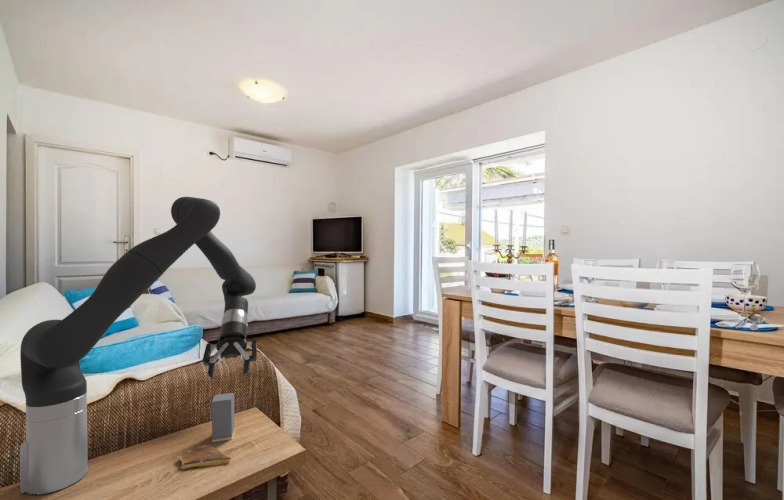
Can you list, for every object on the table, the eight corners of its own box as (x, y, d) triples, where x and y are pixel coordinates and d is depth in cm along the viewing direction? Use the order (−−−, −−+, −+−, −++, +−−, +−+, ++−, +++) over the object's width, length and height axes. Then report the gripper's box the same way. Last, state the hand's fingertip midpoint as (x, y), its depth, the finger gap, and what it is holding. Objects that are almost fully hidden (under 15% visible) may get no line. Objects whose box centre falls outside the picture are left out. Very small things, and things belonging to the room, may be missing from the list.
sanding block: (211, 442, 87) (211, 401, 87) (215, 433, 92) (215, 394, 92) (231, 439, 89) (231, 399, 89) (234, 430, 93) (234, 392, 93)
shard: (231, 464, 79) (231, 456, 79) (196, 483, 72) (195, 474, 72) (207, 449, 85) (206, 441, 85) (172, 465, 79) (172, 457, 79)
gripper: (206, 321, 105) (197, 372, 94) (257, 318, 109) (254, 366, 98) (211, 335, 110) (202, 385, 99) (259, 331, 114) (256, 379, 103)
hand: (228, 375), depth 99 cm, fingers open, 8 cm apart
